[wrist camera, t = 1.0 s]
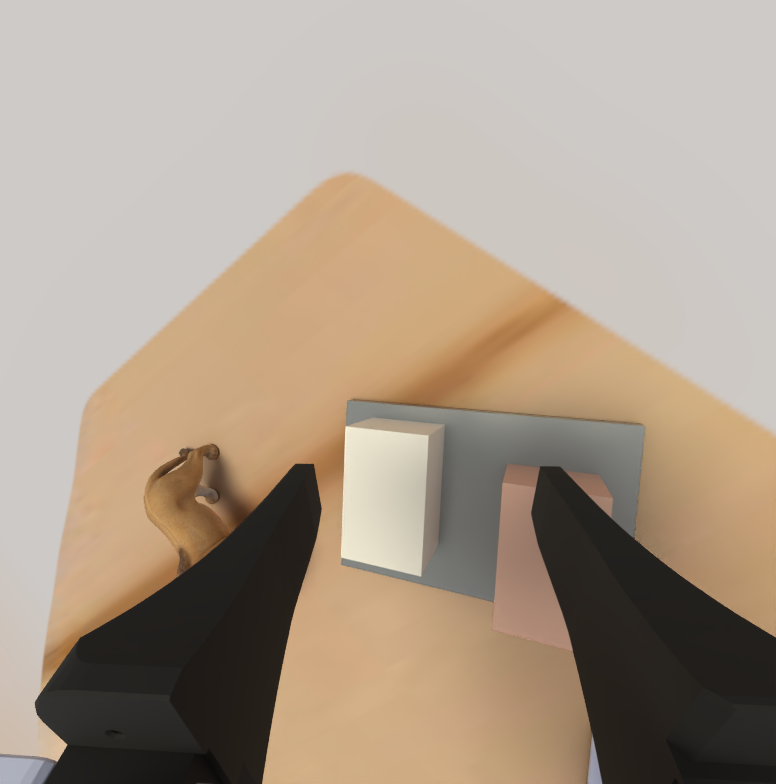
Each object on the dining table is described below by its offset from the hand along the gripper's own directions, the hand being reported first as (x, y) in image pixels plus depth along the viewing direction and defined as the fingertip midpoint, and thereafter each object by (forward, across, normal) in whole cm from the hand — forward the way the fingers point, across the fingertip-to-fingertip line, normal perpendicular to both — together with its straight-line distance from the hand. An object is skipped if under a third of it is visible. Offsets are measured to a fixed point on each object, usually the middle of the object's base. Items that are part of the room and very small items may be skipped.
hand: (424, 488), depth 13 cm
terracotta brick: (+7, -8, +10) cm, 15 cm away
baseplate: (+10, -4, +10) cm, 15 cm away
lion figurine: (+13, +14, +15) cm, 25 cm away
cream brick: (+10, +1, +9) cm, 14 cm away
